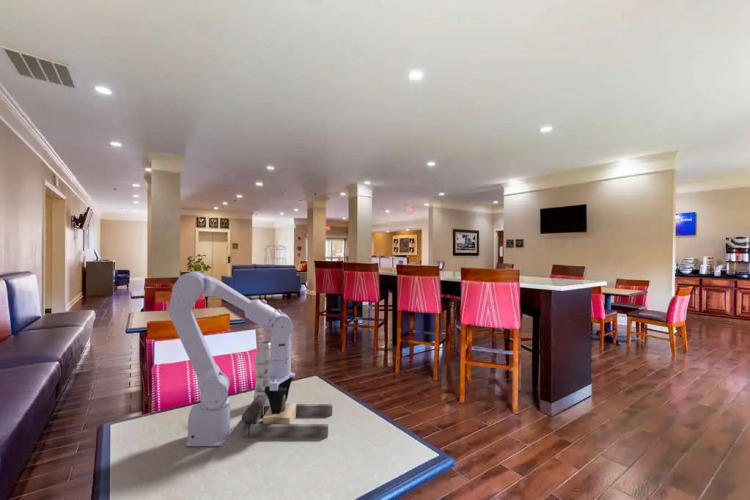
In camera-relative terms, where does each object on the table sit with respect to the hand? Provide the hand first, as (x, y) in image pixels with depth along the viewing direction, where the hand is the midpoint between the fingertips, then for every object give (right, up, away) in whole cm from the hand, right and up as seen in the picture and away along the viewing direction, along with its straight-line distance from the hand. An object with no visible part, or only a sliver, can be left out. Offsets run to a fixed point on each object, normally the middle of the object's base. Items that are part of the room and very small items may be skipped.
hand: (279, 407), depth 96 cm
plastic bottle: (-9, -6, +16) cm, 19 cm away
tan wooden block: (0, -5, 0) cm, 5 cm away
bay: (+3, -6, 0) cm, 7 cm away
